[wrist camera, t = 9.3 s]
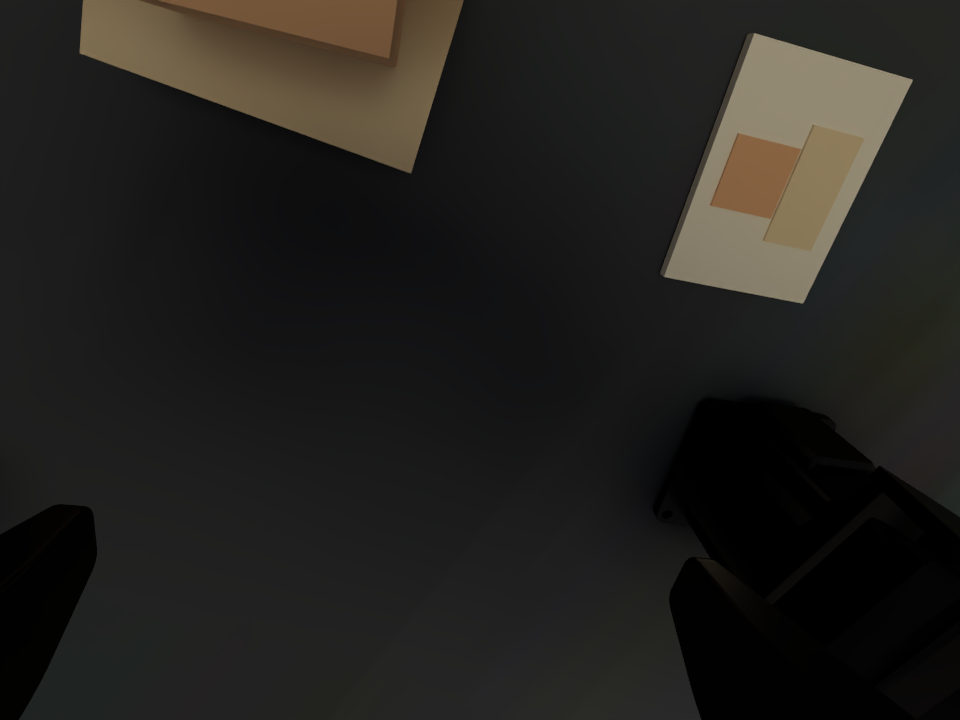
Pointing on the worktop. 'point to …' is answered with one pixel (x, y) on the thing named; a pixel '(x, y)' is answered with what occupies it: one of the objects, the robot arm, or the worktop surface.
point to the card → (781, 169)
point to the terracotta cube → (311, 22)
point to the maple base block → (286, 72)
